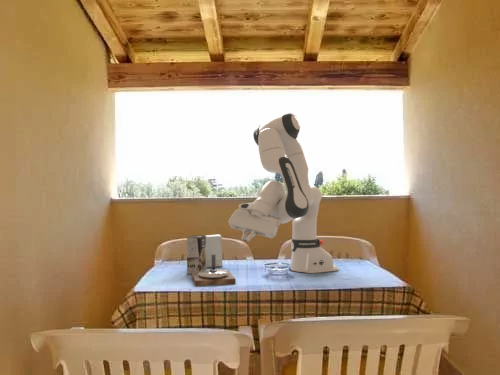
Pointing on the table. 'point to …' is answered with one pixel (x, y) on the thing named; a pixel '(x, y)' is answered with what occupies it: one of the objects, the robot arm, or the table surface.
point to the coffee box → (196, 254)
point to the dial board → (213, 280)
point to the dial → (213, 271)
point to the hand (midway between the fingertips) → (244, 240)
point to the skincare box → (213, 249)
